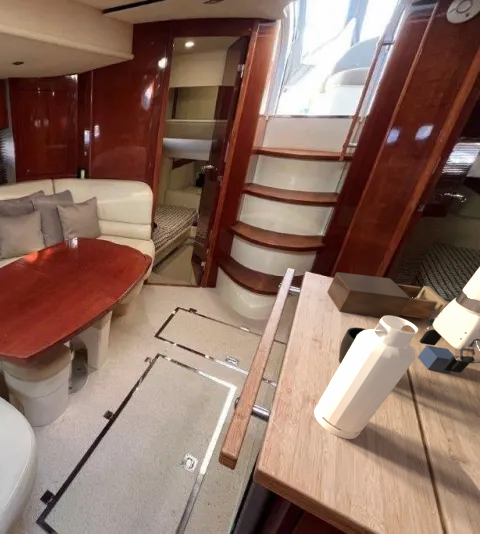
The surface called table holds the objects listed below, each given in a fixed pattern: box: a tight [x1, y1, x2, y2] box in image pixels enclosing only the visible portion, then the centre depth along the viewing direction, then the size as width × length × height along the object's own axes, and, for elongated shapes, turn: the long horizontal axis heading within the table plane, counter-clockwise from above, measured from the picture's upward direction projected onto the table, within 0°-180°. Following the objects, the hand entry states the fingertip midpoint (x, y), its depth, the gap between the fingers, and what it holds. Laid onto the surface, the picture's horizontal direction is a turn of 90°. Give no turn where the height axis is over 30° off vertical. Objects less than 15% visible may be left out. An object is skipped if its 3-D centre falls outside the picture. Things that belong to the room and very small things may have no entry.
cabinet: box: [326, 271, 410, 319], centre depth 101 cm, size 15×12×9 cm
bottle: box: [313, 316, 419, 440], centre depth 60 cm, size 8×8×28 cm
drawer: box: [395, 283, 456, 320], centre depth 97 cm, size 21×10×7 cm, turn 72°
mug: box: [338, 326, 368, 364], centre depth 77 cm, size 8×12×10 cm
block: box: [417, 344, 455, 374], centre depth 79 cm, size 4×4×4 cm
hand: (438, 356), depth 79 cm, fingers open, 9 cm apart
